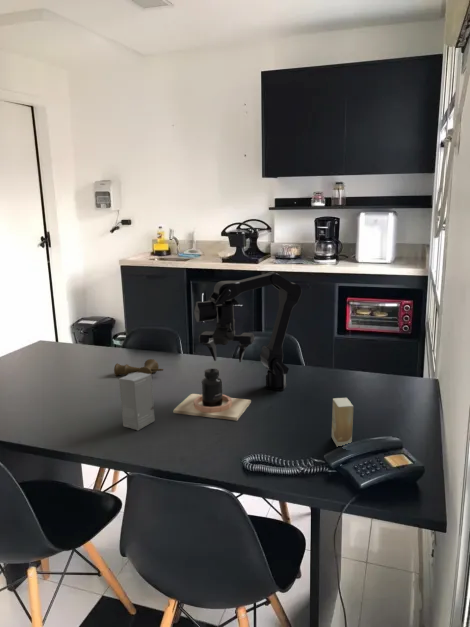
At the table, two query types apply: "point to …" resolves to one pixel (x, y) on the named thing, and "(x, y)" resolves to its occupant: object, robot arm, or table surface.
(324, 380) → the table surface
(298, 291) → the robot arm
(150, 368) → the kendama
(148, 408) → the skincare box
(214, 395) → the supplement bottle
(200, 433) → the table surface
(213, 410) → the ring collar
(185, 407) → the birch board
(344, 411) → the skincare box
